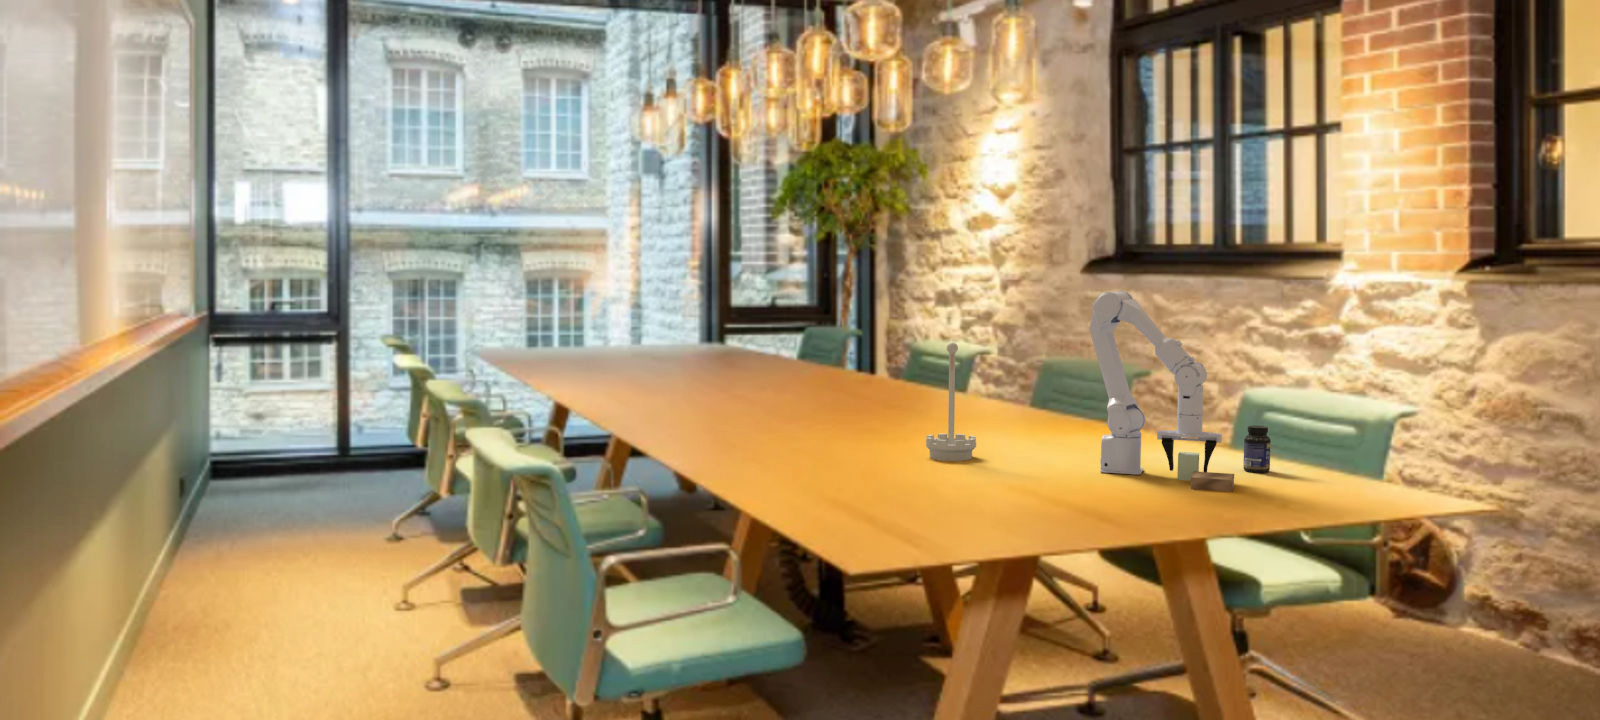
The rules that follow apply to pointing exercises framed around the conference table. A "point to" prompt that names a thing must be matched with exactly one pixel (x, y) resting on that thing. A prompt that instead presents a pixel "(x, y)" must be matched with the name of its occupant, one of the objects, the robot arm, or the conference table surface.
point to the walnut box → (1212, 481)
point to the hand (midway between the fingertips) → (1188, 471)
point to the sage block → (1187, 465)
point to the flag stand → (951, 426)
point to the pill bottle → (1257, 450)
